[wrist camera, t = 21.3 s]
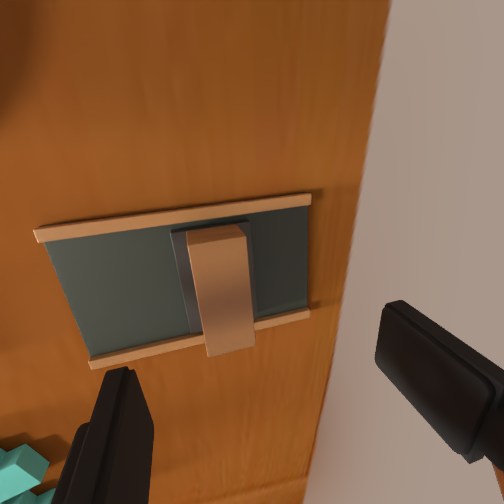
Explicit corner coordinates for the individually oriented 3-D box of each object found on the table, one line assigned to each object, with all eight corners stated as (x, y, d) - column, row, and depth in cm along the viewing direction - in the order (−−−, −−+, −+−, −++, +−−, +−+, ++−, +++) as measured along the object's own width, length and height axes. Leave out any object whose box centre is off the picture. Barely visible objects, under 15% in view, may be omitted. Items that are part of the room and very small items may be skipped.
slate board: (39, 225, 23) (32, 229, 22) (306, 191, 28) (311, 193, 27) (94, 361, 29) (91, 370, 28) (305, 312, 35) (310, 317, 33)
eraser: (170, 229, 26) (168, 248, 21) (247, 218, 27) (263, 233, 22) (190, 327, 30) (192, 361, 25) (255, 312, 32) (269, 342, 27)
